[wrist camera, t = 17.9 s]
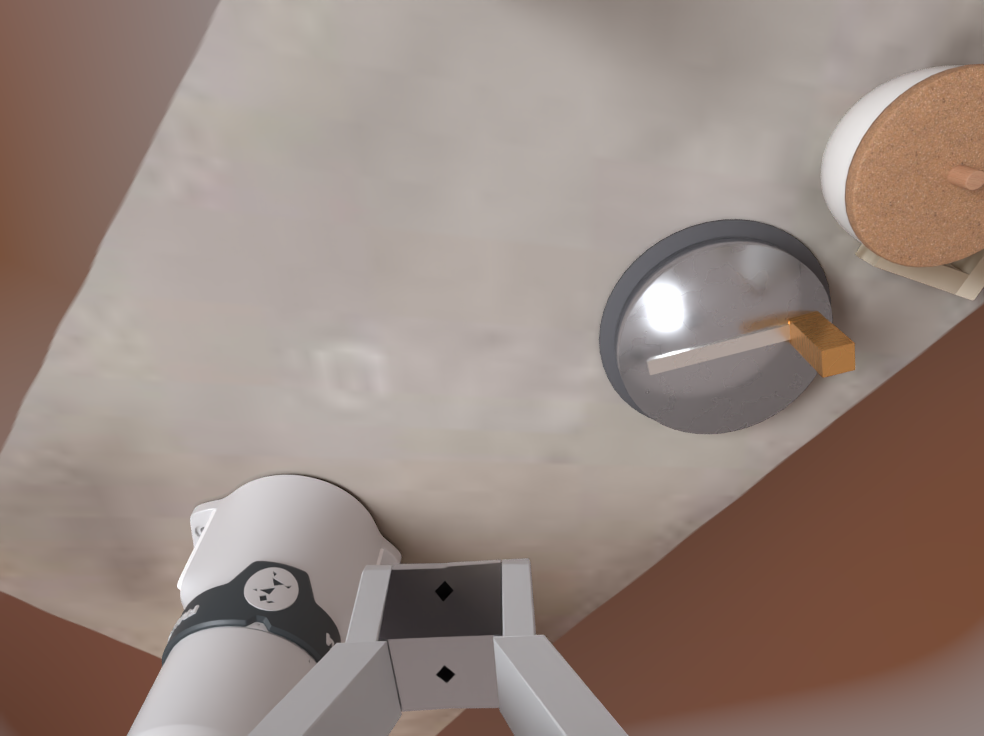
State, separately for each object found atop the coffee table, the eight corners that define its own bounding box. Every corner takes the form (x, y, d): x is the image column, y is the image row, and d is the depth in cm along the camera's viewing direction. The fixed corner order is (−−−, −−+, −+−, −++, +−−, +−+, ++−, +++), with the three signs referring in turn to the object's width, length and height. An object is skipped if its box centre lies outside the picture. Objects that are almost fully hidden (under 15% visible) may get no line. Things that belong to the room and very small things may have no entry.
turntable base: (755, 447, 52) (756, 449, 51) (565, 393, 49) (566, 395, 49) (876, 262, 44) (878, 263, 44) (658, 186, 41) (659, 187, 41)
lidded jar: (911, 243, 43) (1011, 292, 35) (767, 216, 42) (834, 260, 34) (998, 77, 38) (1137, 89, 30) (836, 42, 37) (934, 45, 29)
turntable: (634, 438, 50) (654, 495, 44) (595, 271, 44) (612, 310, 37) (823, 393, 48) (872, 445, 42) (814, 209, 41) (870, 240, 35)
